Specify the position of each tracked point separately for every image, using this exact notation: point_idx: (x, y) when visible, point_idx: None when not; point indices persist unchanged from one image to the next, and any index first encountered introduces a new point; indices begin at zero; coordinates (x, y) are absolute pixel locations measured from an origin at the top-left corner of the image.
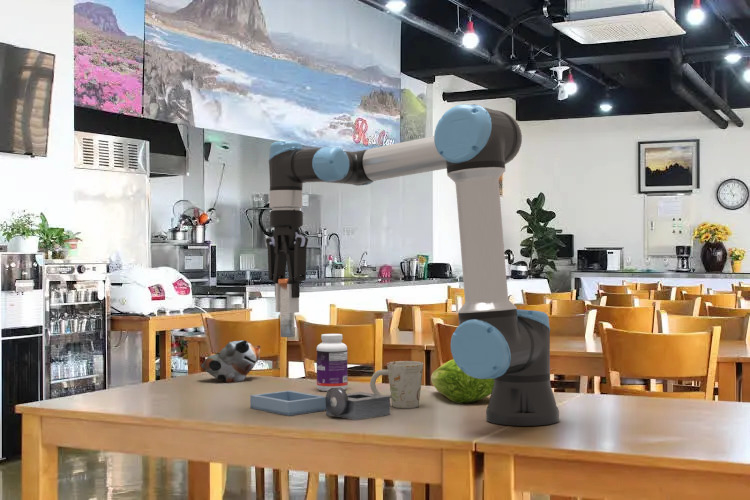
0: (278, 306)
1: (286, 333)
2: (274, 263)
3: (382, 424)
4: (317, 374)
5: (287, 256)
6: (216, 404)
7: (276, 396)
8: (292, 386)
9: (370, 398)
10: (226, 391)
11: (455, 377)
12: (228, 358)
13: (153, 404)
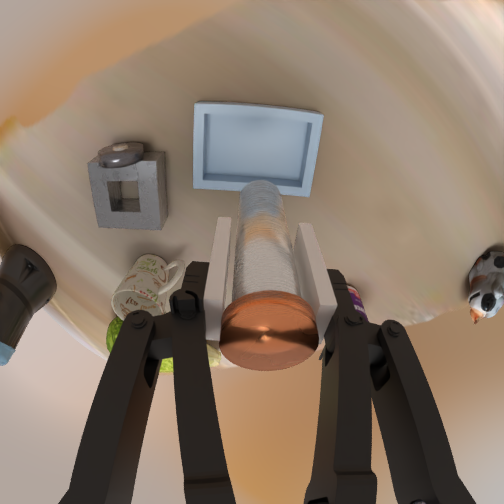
0: (301, 238)
1: (246, 189)
2: (395, 411)
3: (60, 162)
4: (355, 300)
5: (209, 462)
6: (394, 110)
7: (304, 161)
8: (401, 286)
9: (96, 196)
10: (453, 211)
11: (119, 326)
12: (493, 278)
13: (461, 68)
